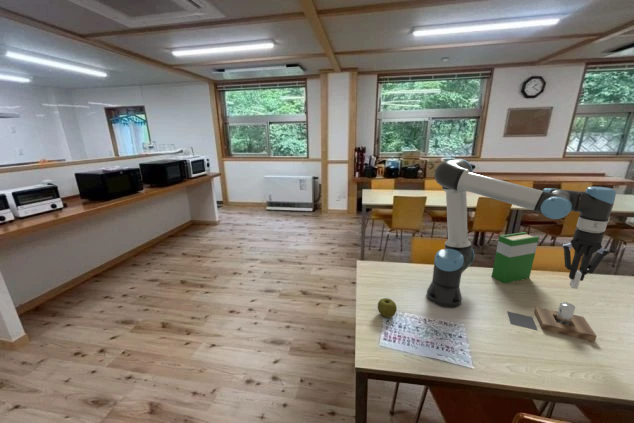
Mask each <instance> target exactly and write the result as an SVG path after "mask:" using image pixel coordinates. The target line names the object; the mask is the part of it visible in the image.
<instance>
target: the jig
mask: <svg viewBox="0 0 634 423" xmlns="http://www.w3.org/2000/svg"><path fill="white" fill-rule="evenodd" d="M533 313H534V315H535V317H536V320H537V322H538V325H539V327H540V329H541V330H543V331H547V332H552V333H556V334H560V335H563V336H568V337H573V338H577V339H581V340H586V341H587V342H590V343H596V339H597V336H598V335H597V334H596V333H595V332H594V330H593V328H592V327H591V325H590V324H589V323H588V321H587V320H586V319H585V317H584V316H581V315H576V314H573V317H572V320H571V323H570V325H565V324H561V323H557V322H556V317H557V313H558V310H553V309H549V308H542V307H539V306H535V307H534V310H533Z"/></svg>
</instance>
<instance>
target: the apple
mask: <svg viewBox="0 0 634 423" xmlns="http://www.w3.org/2000/svg"><path fill="white" fill-rule="evenodd" d="M377 310H378V313H379V315H380V316H382V317H384V318H388V319H391V318H392V317H394V316H395V315H396V313H397V304H396V302H395V301H394V300H392V298H391V299H390V298H389V297H388V298H387V297H385V298H381V299H380V300H379V301H378V303H377Z"/></svg>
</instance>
